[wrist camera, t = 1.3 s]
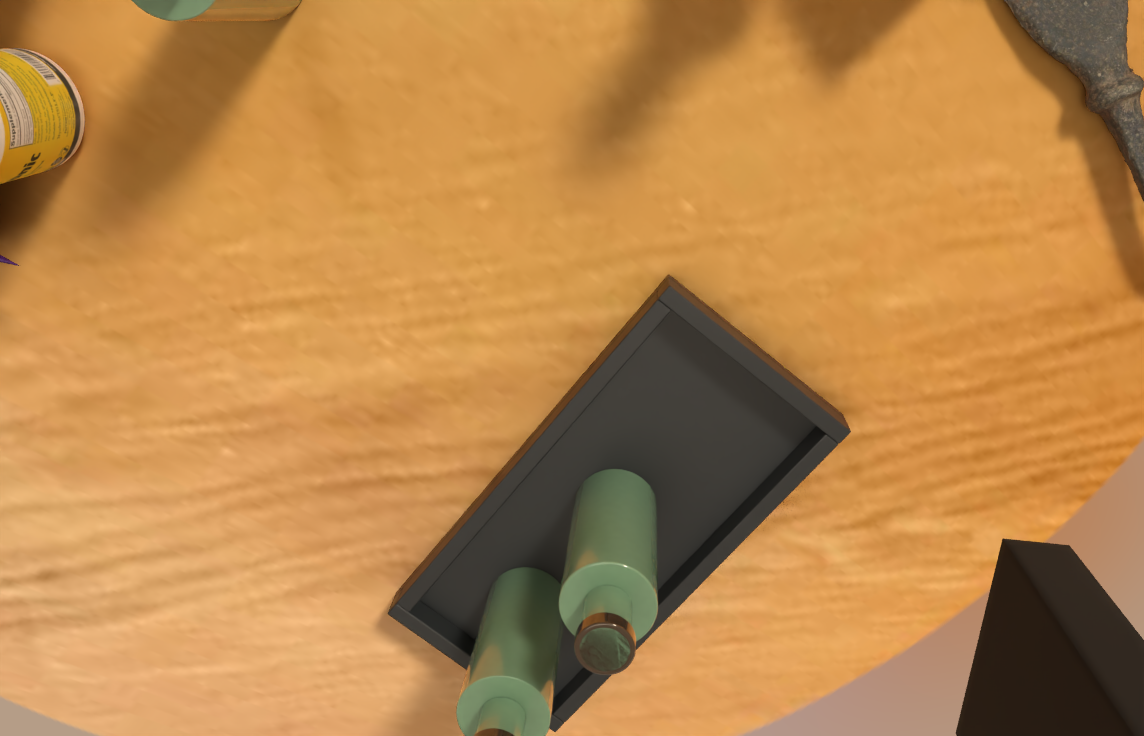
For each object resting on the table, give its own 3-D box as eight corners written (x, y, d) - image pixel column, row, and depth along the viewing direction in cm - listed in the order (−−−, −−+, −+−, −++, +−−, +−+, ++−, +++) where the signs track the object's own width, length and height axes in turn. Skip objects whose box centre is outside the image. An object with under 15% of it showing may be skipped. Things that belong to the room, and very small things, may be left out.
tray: (668, 274, 47) (669, 285, 45) (843, 414, 48) (851, 431, 46) (396, 591, 53) (386, 614, 51) (558, 707, 54) (555, 733, 52)
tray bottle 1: (520, 551, 51) (482, 704, 40) (583, 598, 52) (564, 761, 40) (472, 605, 52) (422, 768, 41) (534, 650, 53) (502, 823, 41)
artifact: (992, -41, 40) (1117, -107, 39) (978, -34, 42) (1098, -97, 41) (1138, 304, 43) (1258, 249, 42) (1120, 297, 45) (1235, 244, 44)
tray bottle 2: (609, 452, 49) (596, 583, 38) (674, 501, 49) (680, 645, 38) (557, 510, 50) (529, 654, 39) (621, 557, 51) (612, 713, 39)
